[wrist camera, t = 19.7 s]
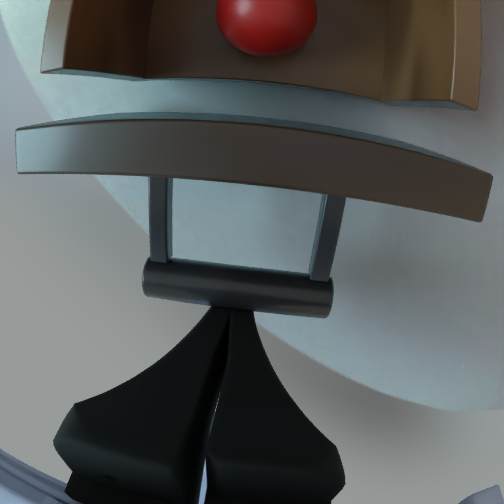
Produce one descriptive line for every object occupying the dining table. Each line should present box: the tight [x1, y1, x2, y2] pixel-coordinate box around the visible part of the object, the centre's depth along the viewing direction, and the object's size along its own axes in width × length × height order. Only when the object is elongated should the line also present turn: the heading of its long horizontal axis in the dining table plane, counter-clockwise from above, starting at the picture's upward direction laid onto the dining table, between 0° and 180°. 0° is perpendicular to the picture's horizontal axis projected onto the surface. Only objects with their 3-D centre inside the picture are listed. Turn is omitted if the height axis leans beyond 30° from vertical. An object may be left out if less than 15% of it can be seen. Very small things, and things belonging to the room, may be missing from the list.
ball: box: [216, 0, 317, 57], centre depth 7 cm, size 3×3×3 cm
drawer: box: [15, 0, 493, 318], centre depth 7 cm, size 17×11×6 cm, turn 175°
